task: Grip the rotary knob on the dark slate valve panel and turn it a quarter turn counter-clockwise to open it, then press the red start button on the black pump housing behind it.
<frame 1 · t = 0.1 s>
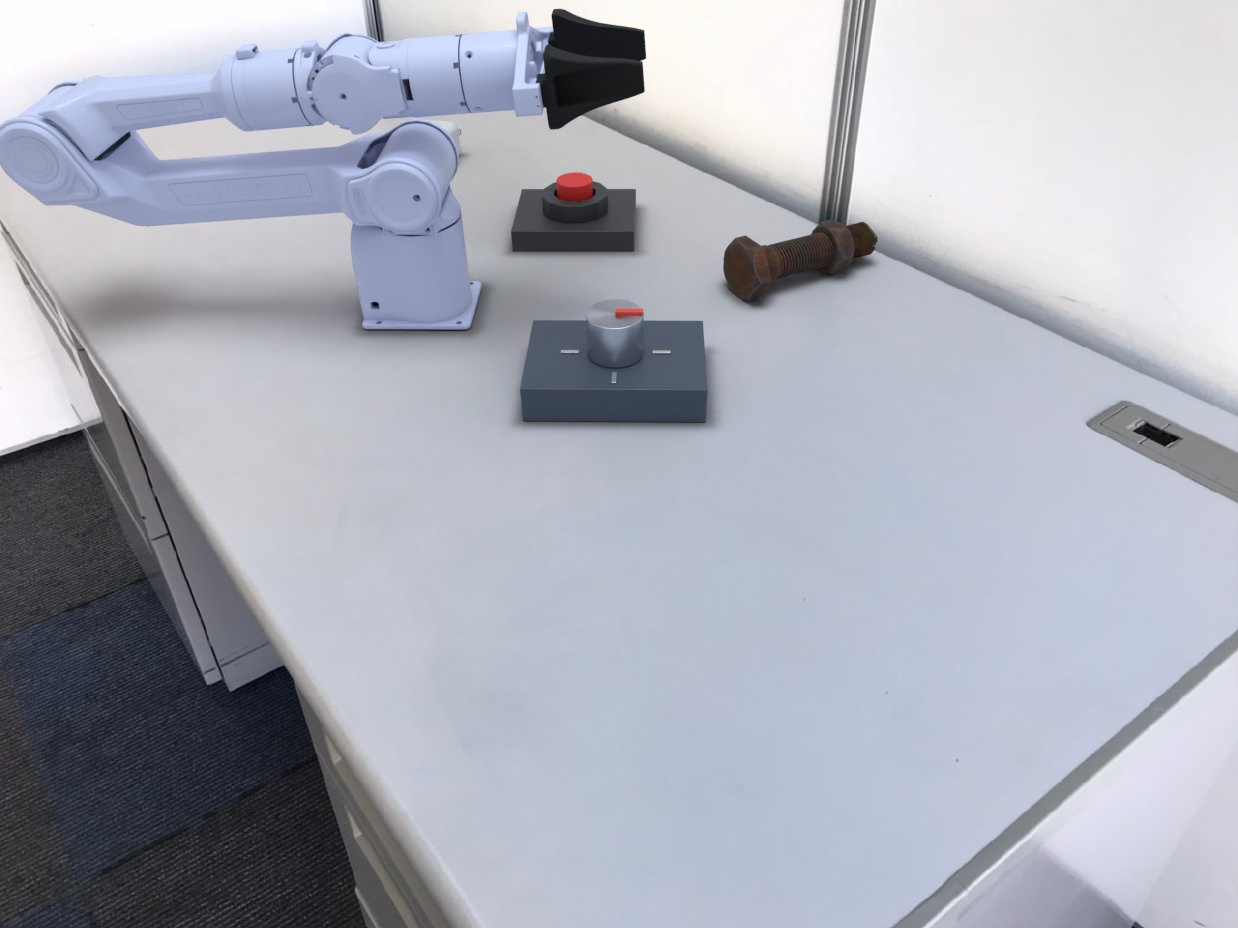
hand: (644, 60, 75), 22 cm above the table, tool horizontal, fingers open, 7 cm apart
start button: (574, 188, 99), point 4 cm above the table, slide at 0.1 cm
usb wall charger: (443, 159, 117), on the table
bolt: (803, 278, 93), on the table
rotary knob: (615, 331, 77), point 5 cm above the table, hinge at 0.0°
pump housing: (576, 229, 102), on the table
valve panel: (616, 384, 80), on the table
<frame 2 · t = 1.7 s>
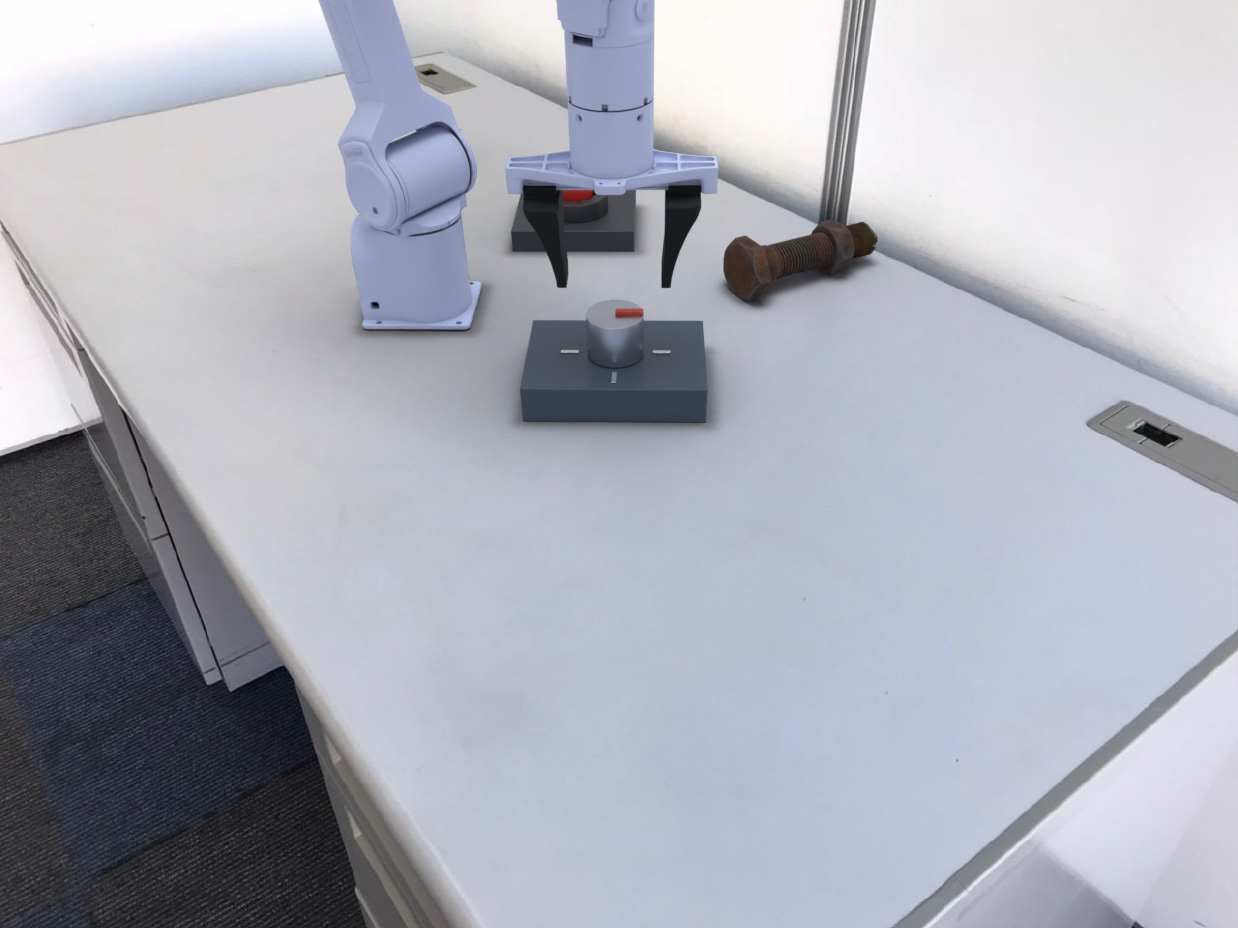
hand: (614, 281, 74), 9 cm above the table, tool pointing down, fingers open, 7 cm apart
nothing on the table moved.
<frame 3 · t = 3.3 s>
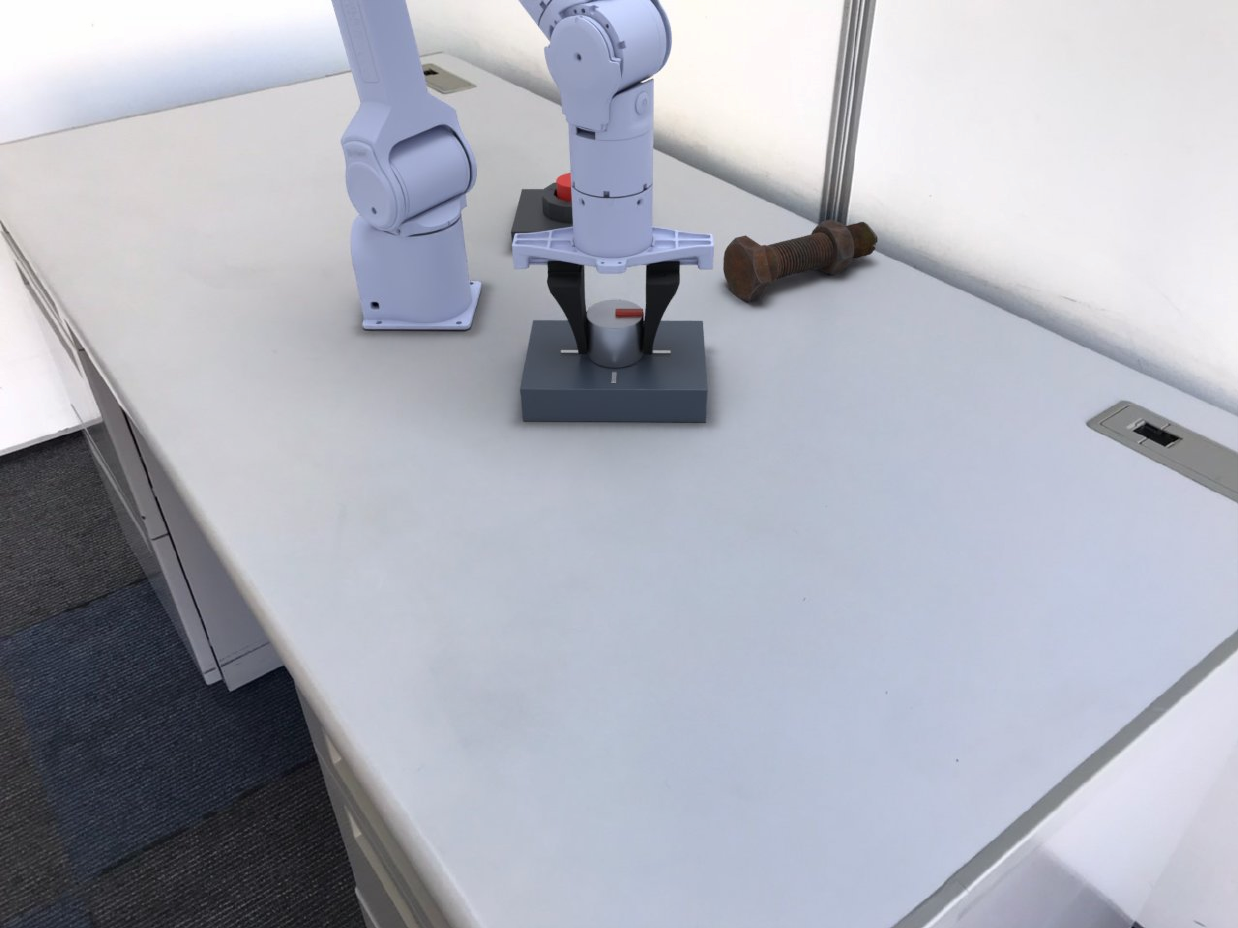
hand: (615, 347, 78), 4 cm above the table, tool pointing down, fingers closed on rotary knob, 4 cm apart
rotary knob: (615, 331, 77), point 5 cm above the table, hinge at -0.1°, touching gripper
everything else where it was.
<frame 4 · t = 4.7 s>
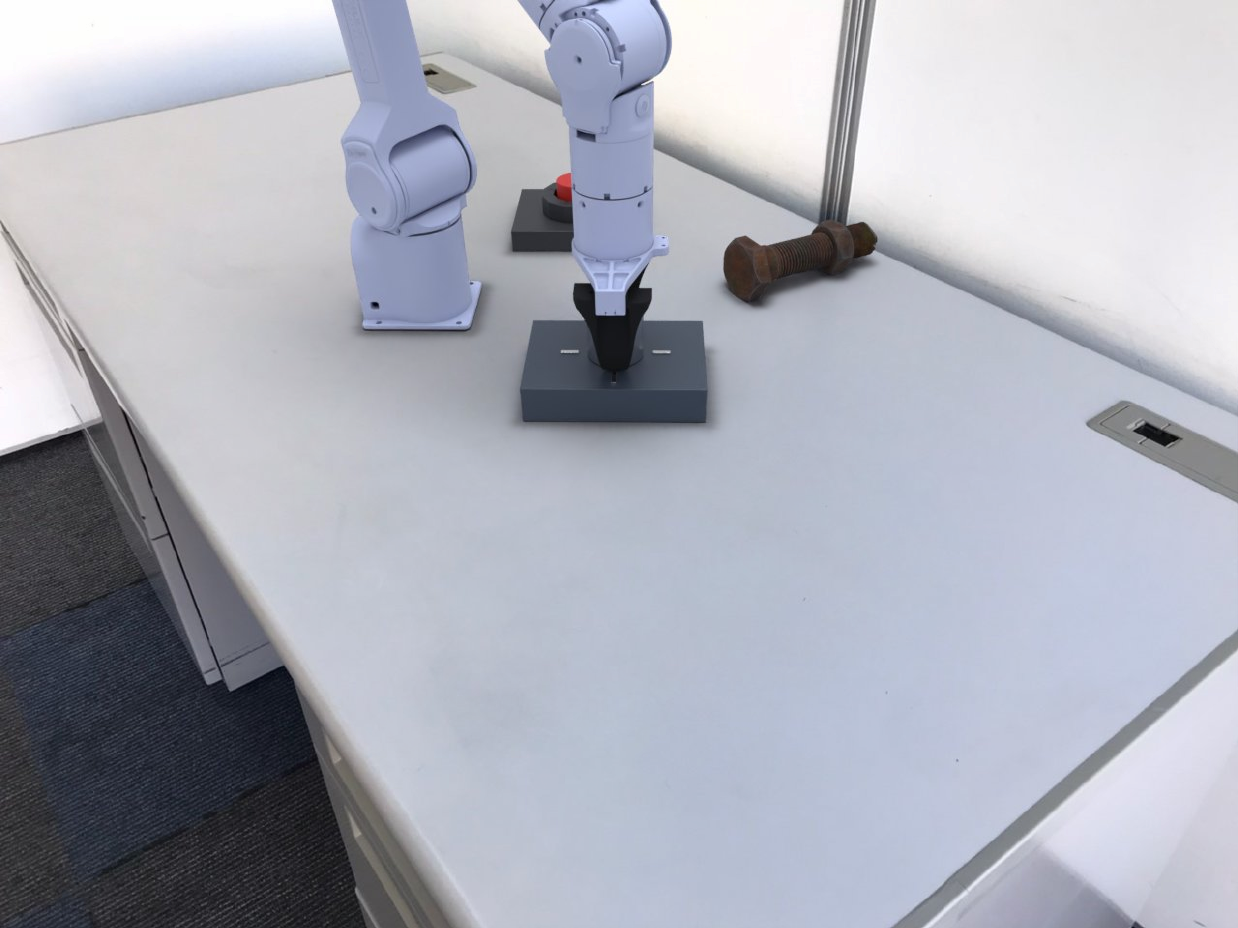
hand: (616, 349, 78), 3 cm above the table, tool pointing down, fingers closed on rotary knob, 4 cm apart
rotary knob: (615, 331, 77), point 5 cm above the table, hinge at 90.7°, touching gripper
everything else where it was.
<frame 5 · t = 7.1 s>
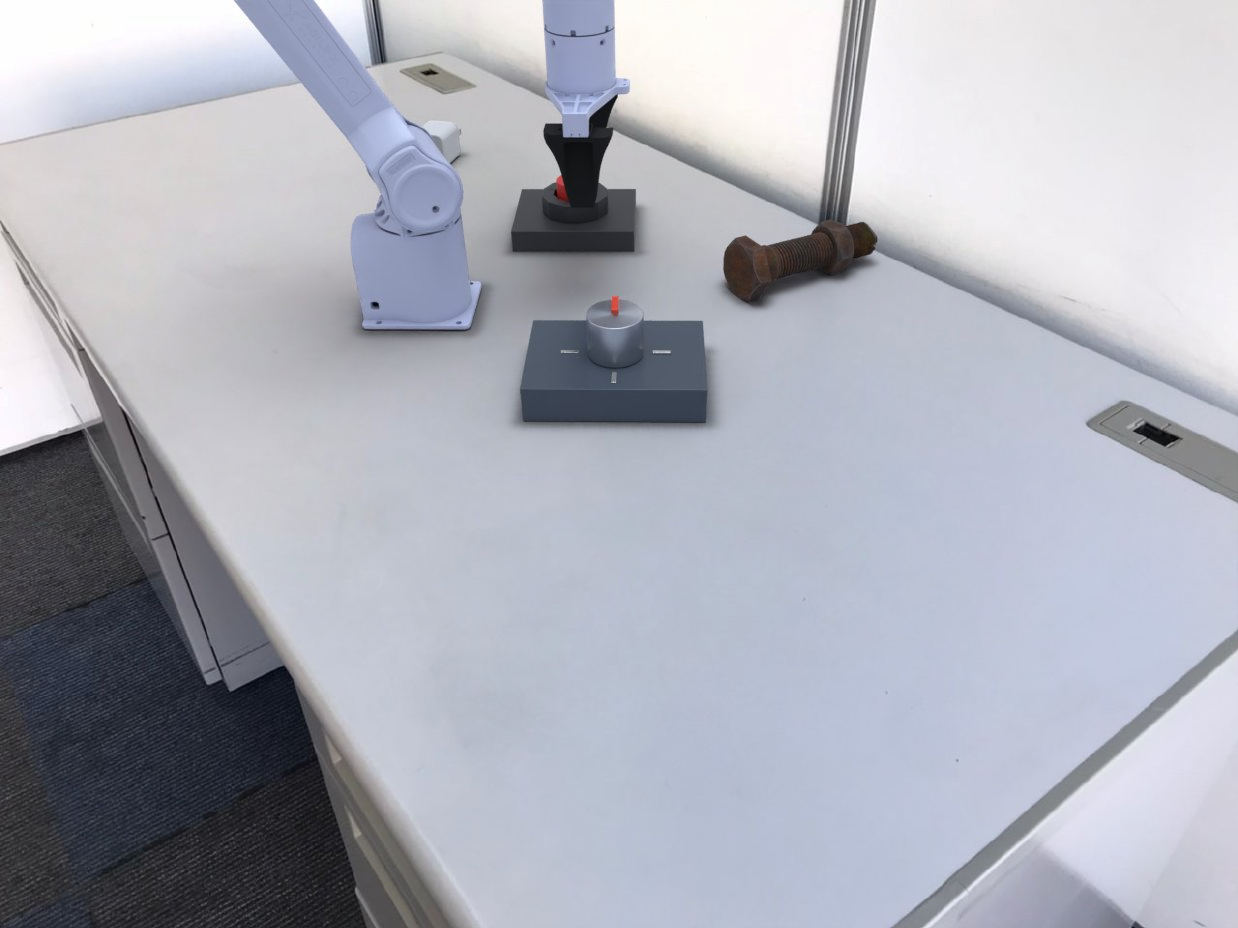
hand: (585, 187, 89), 9 cm above the table, tool pointing down, fingers open, 7 cm apart
rotary knob: (615, 331, 77), point 5 cm above the table, hinge at 91.1°
everything else where it was.
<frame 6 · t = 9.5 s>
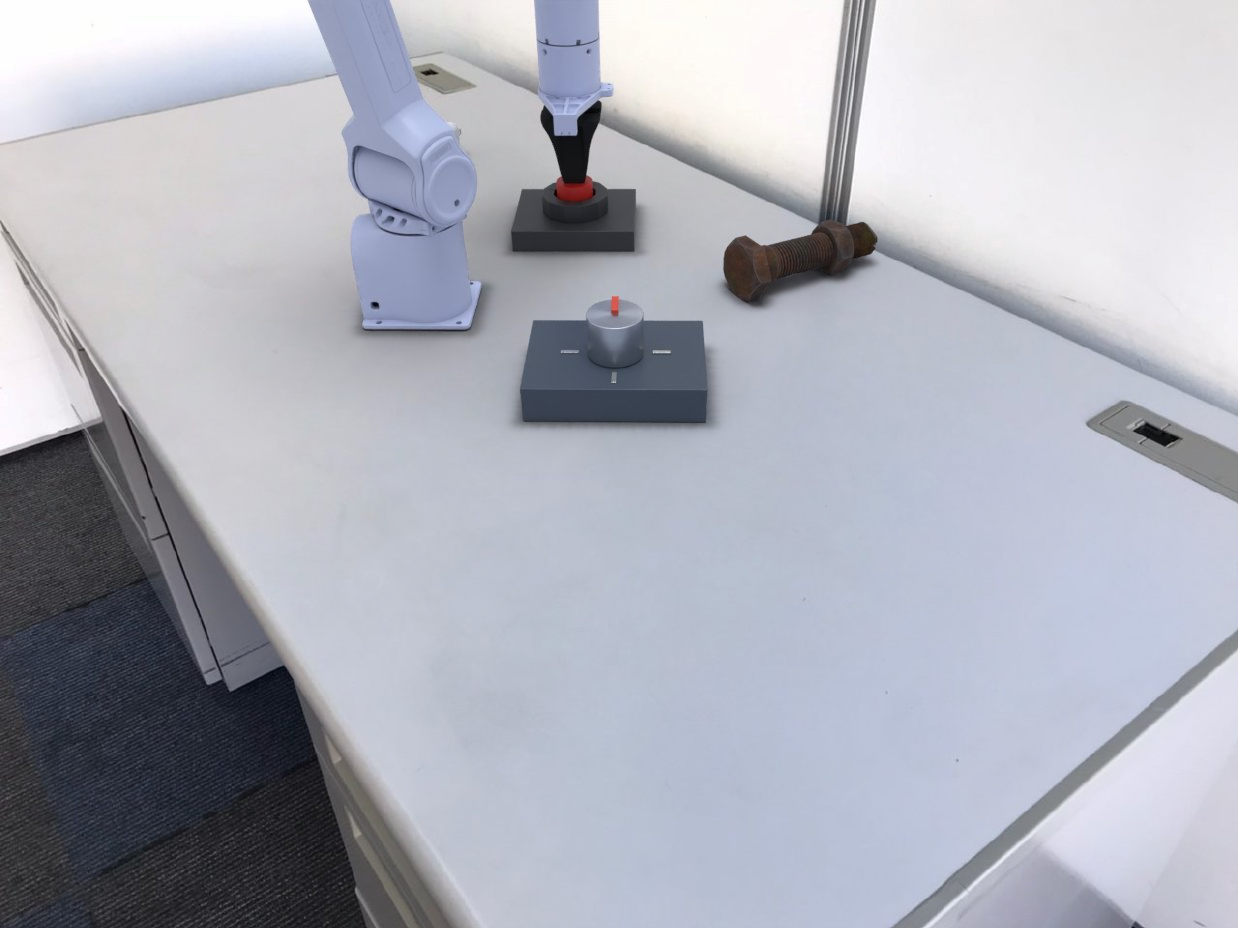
hand: (574, 181, 99), 5 cm above the table, tool pointing down, fingers closed, pressing on start button
start button: (574, 189, 99), point 4 cm above the table, slide at 0.0 cm, touching gripper
everything else where it was.
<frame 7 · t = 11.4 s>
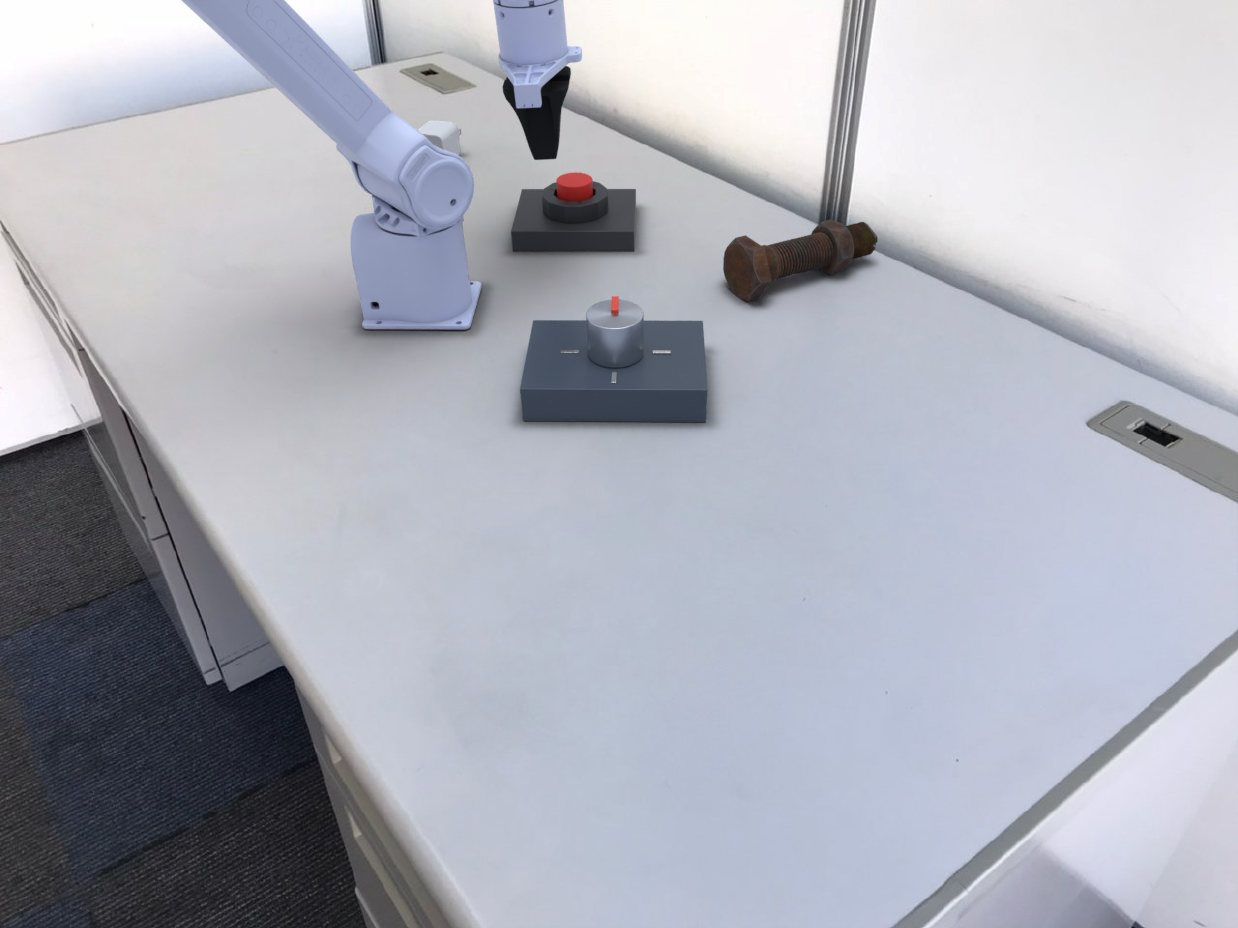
hand: (545, 156, 90), 10 cm above the table, tool pointing down, fingers closed
start button: (574, 188, 99), point 4 cm above the table, slide at 0.1 cm
everything else where it was.
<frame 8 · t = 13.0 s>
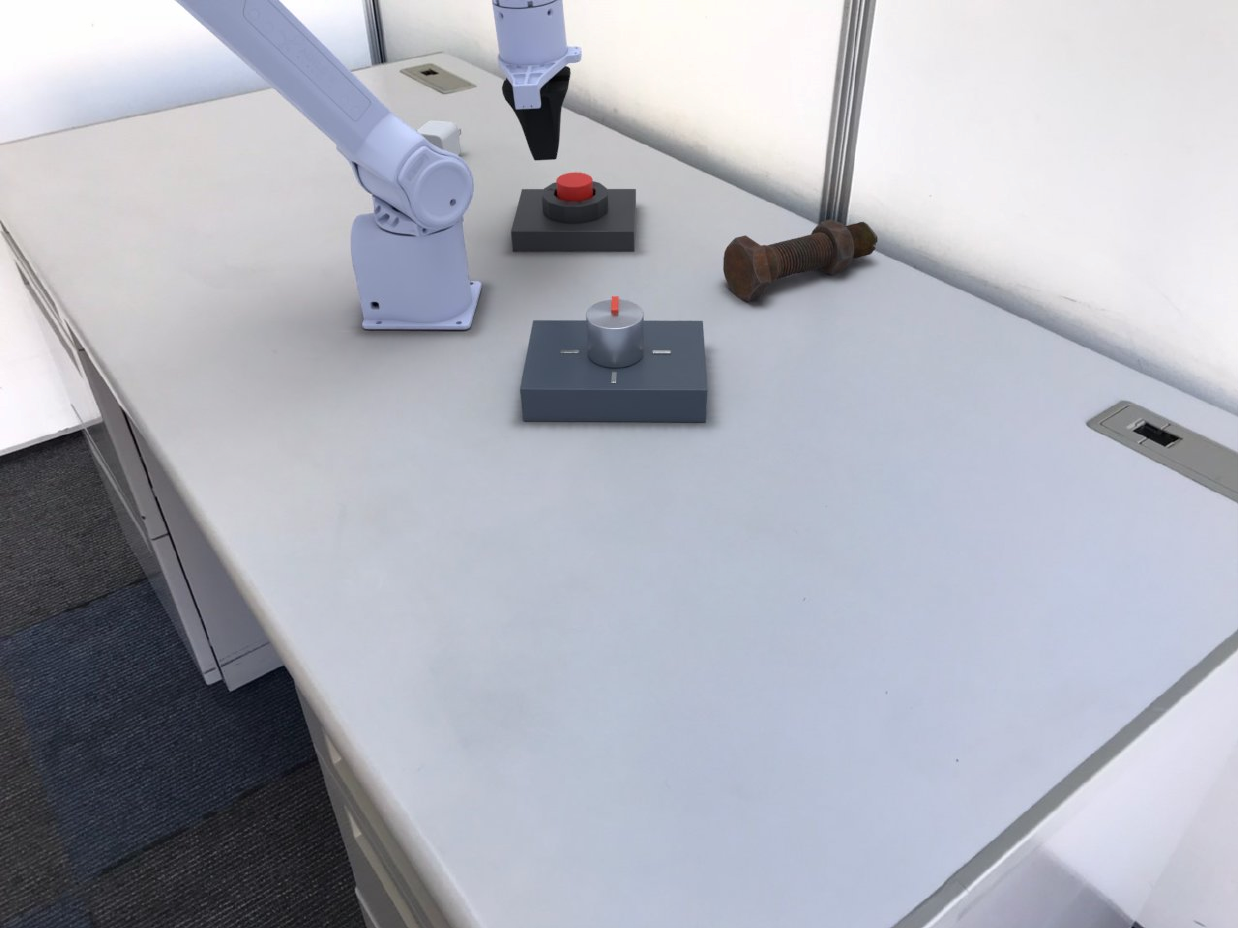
hand: (545, 157, 90), 10 cm above the table, tool pointing down, fingers closed
nothing on the table moved.
at the end: rotary knob at +91° (first picture: +0°); start button pushed in 1.2 cm at the most during the clip, back to where it started at the end; start button slide at 0.1 cm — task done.
